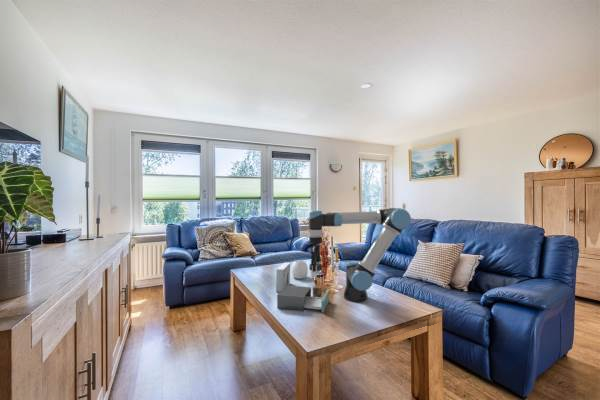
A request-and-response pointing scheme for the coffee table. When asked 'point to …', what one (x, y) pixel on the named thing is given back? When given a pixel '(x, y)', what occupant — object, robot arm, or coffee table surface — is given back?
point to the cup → (299, 269)
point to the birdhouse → (317, 302)
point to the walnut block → (317, 291)
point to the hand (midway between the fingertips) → (316, 274)
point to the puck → (319, 267)
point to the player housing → (293, 298)
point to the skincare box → (282, 277)
